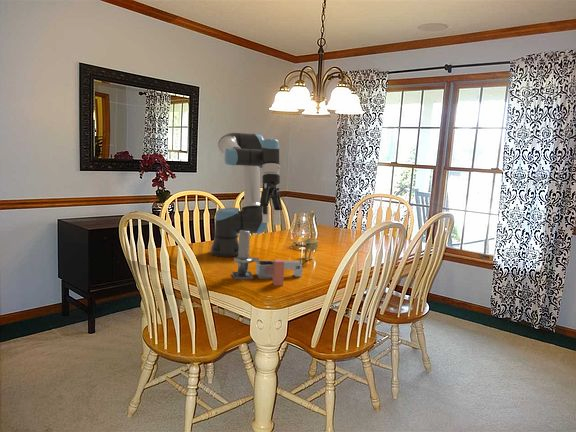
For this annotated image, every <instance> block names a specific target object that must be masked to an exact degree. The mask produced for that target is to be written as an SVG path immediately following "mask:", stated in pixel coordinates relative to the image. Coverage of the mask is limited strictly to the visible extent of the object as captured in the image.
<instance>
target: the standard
mask: <svg viewBox="0 0 576 432" xmlns="http://www.w3.org/2000/svg"><path fill="white" fill-rule="evenodd" d="M250 238H251V235H250V231H248V230H240V231H239V233H238V243H239V253H238V256H234V257H233V262H234V263H237V271H232V273H231V274H232V277H233V279H234V281H235V280H254V275H253V273H252V271H249V264H251V263H253V262H255V263H256V262H259V261H260V260H259V258H258V257H251V256H250V254H249V253H250Z"/></svg>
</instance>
